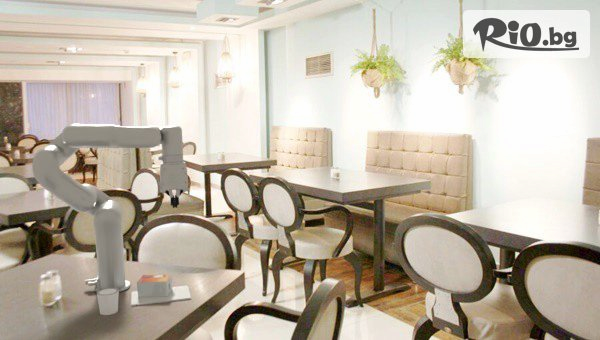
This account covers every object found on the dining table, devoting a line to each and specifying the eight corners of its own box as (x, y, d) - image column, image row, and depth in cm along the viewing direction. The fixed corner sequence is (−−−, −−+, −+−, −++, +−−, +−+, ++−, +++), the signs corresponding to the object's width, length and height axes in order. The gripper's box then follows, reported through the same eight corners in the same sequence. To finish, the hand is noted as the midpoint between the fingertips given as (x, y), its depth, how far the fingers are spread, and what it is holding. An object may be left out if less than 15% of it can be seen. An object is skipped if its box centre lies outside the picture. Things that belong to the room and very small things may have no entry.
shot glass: (107, 317, 169) (105, 296, 168) (93, 313, 172) (92, 292, 171) (124, 310, 175) (123, 290, 174) (110, 306, 178) (109, 286, 177)
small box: (166, 281, 184) (136, 282, 184) (167, 297, 185) (137, 297, 184) (171, 274, 192) (142, 274, 191) (172, 288, 192) (143, 289, 192)
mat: (131, 306, 178) (131, 304, 178) (131, 292, 190) (131, 291, 190) (191, 299, 184) (191, 297, 183) (187, 286, 196) (187, 285, 196)
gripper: (152, 161, 190) (154, 210, 193) (194, 159, 194) (196, 207, 197) (151, 158, 197) (154, 206, 200) (192, 157, 201) (194, 204, 204)
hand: (175, 207), depth 198 cm, fingers closed
